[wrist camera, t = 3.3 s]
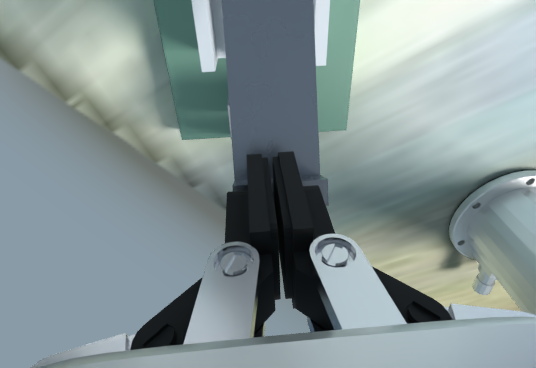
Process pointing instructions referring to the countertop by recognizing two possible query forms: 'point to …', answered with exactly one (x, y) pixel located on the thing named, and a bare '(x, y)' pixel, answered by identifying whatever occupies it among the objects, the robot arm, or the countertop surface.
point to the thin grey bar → (272, 85)
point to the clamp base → (215, 71)
